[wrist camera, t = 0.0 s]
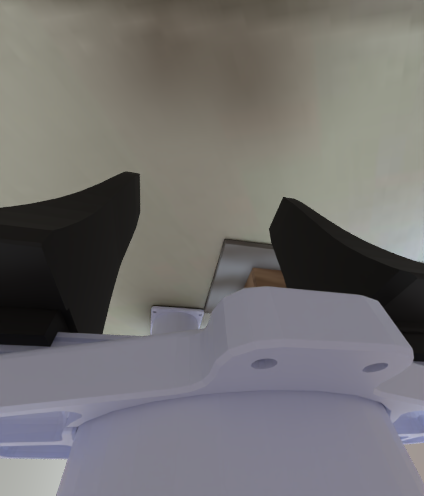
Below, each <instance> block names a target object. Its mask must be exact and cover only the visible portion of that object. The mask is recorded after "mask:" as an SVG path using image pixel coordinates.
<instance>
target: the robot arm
mask: <svg viewBox="0 0 424 496" xmlns="http://www.w3.org/2000/svg"><path fill="white" fill-rule="evenodd" d="M139 214H140V174H138V173H132V172H123V173H121V174H118V175H116V176H114V177H112V178H110V179H108V180H106V181H104V182H102V183H100V184H97V185H95V186H92V187H90V188H87V189H85V190H83V191H80V192H77V193H74V194H71V195H67V196H64V197H60V198H56V199H52V200H47V201H42V202H37V203H32V204H26V205H19V206H11V207H3V208H0V458H14V459H15V458H16V459H18V458H19V459H68V460H67V463H66V466H65V470H64V473H63V476H62V479H61V482H60V485H59V488H58V491H57V494H56V496H424V483H423V481H422V479H421V477H420V475H419V474H418V471H417V469H416V467H415V466H414V464H413V462H412V460H411V458H410V456H409V454H408V452H407V450H406V448H405V446H404V444H414V443H424V264H422V263H419V262H416V261H413V260H410V259H407V258H405V257H402V256H399V255H396V254H394V253H391V252H389V251H386V250H384V249H382V248H379V247H377V246H375V245H372V244H370V243H368V242H366V241H364V240H362V239H360V238H358V237H356V236H354V235H352V234H350V233H349V232H347V231H345V230H343V229H342V228H340V227H339V226H337V225H335V224H334V223H332V222H330V221H329V220H327V219H326V218H324V217H323V216H321V215H320V214H318V213H317V212H315V211H314V210H312V209H311V208H309V207H308V206H306V205H305V204H303V203H302V202H300V201H298V200H296V199H292V198H286V197H283V199H282V201H281V203H280V205H279V208H278V210H277V212H276V214H275V217H274V219H273V221H272V223H271V226H270V228H269V231H270V238H271V243H272V246H273V249H274V252H275V255H276V258H277V260H278V263H279V266H280V269H281V272H282V274H283V277H284V280H285V284H286V288H281V287H270V286H263V287H250V288H243V289H241V290H239V291H236V292H234V293H232V294H230V295H227V296H225V297H224V298H223V299H222V300H221V301H220V302H219V304H218V305H217V306H216V307H215V308H214V310H213V311H212V313H211V316H210V319H209V322H208V325H207V326H206V328H204V329H199V328H200V325H201V321H202V318H203V315H204V310H202V309H188V308H174V307H160V306H153V307H152V308H151V332H150V335H148V336H126V335H106V334H103V329H104V325H105V321H106V317H107V312H108V308H109V304H110V300H111V297H112V293H113V289H114V285H115V282H116V278H117V275H118V271H119V268H120V265H121V262H122V260H123V257H124V255H125V253H126V250H127V248H128V246H129V243H130V241H131V239H132V236H133V234H134V231H135V229H136V226H137V222H138V218H139Z"/></svg>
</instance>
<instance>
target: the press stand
mask: <svg viewBox="0 0 424 496" xmlns="http://www.w3.org/2000/svg"><path fill="white" fill-rule="evenodd" d="M263 286H270V287H281V288H286V284H285V280H284V277H283V274H282V272H281V269H280V266H279V263H278V260H277V258H276V255H275V252H274V249H273V246H272V245H268V244H260V243H252V242H243V241H235V240H227V239H225V241H224V244H223V247H222V251H221V254H220V258H219V261H218V264H217V268H216V271H215V274H214V278H213V281H212V285H211V288H210V291H209V295H208V298H207V301H206V305H205V308H204V310H205V313H212V311H213V310H214V308H215V307H216V306H217V305H218V304H219V302H220V301H221V300H222V299H223V298H224V297H225V296H227V295H230V294H232V293H234V292H236V291H239V290H241V289H243V288H250V287H263Z"/></svg>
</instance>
